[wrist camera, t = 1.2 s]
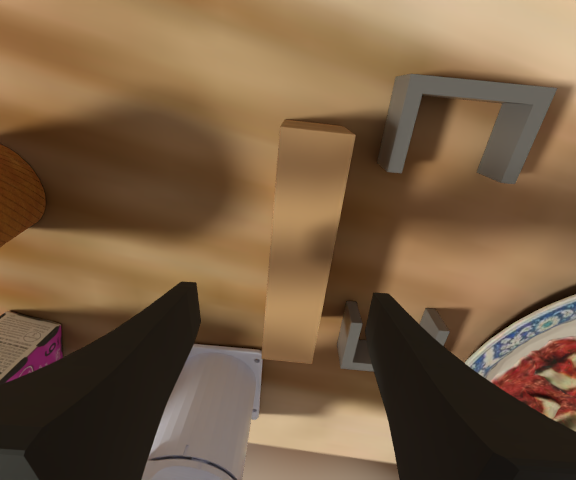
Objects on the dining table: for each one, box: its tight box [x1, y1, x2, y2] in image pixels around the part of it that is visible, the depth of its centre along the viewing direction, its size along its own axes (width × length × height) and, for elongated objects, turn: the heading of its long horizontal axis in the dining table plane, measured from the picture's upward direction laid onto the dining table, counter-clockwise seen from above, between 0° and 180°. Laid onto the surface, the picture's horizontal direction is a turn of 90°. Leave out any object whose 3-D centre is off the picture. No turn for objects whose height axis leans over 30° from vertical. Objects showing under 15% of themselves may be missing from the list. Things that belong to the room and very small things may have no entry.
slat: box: [261, 120, 356, 364], centre depth 19 cm, size 15×4×5 cm, turn 174°
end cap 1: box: [337, 301, 450, 372], centre depth 23 cm, size 5×7×2 cm, turn 85°
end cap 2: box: [377, 74, 557, 184], centre depth 16 cm, size 5×7×2 cm, turn 85°
